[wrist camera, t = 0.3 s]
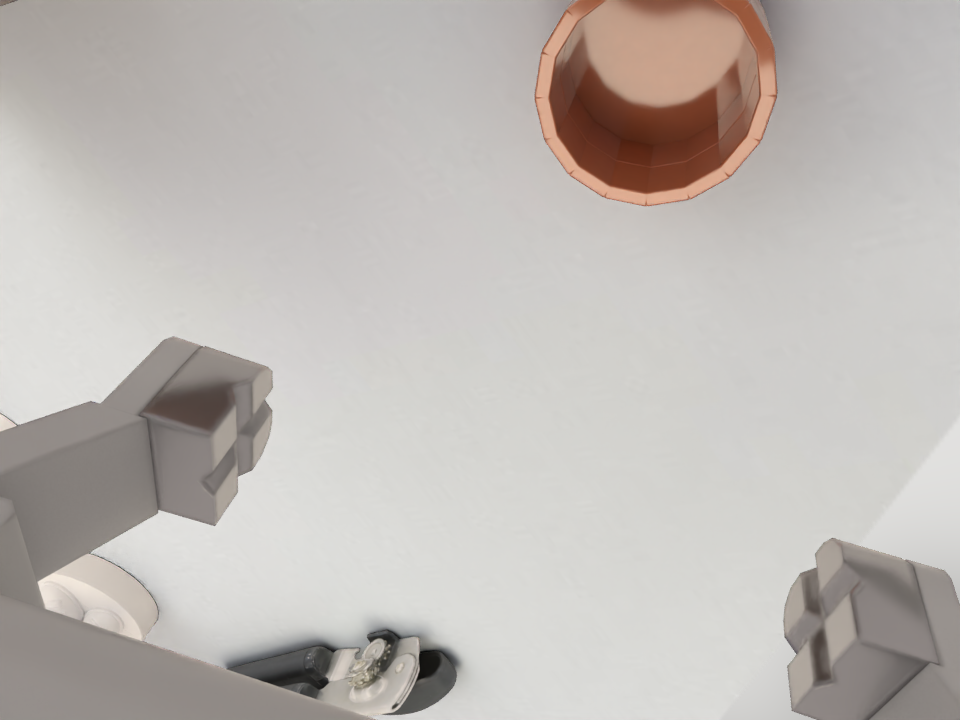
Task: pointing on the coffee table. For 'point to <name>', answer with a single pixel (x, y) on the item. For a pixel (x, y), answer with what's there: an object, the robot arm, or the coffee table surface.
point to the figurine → (5, 423)
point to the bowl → (656, 94)
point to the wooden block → (6, 2)
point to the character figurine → (100, 597)
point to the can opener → (362, 675)
